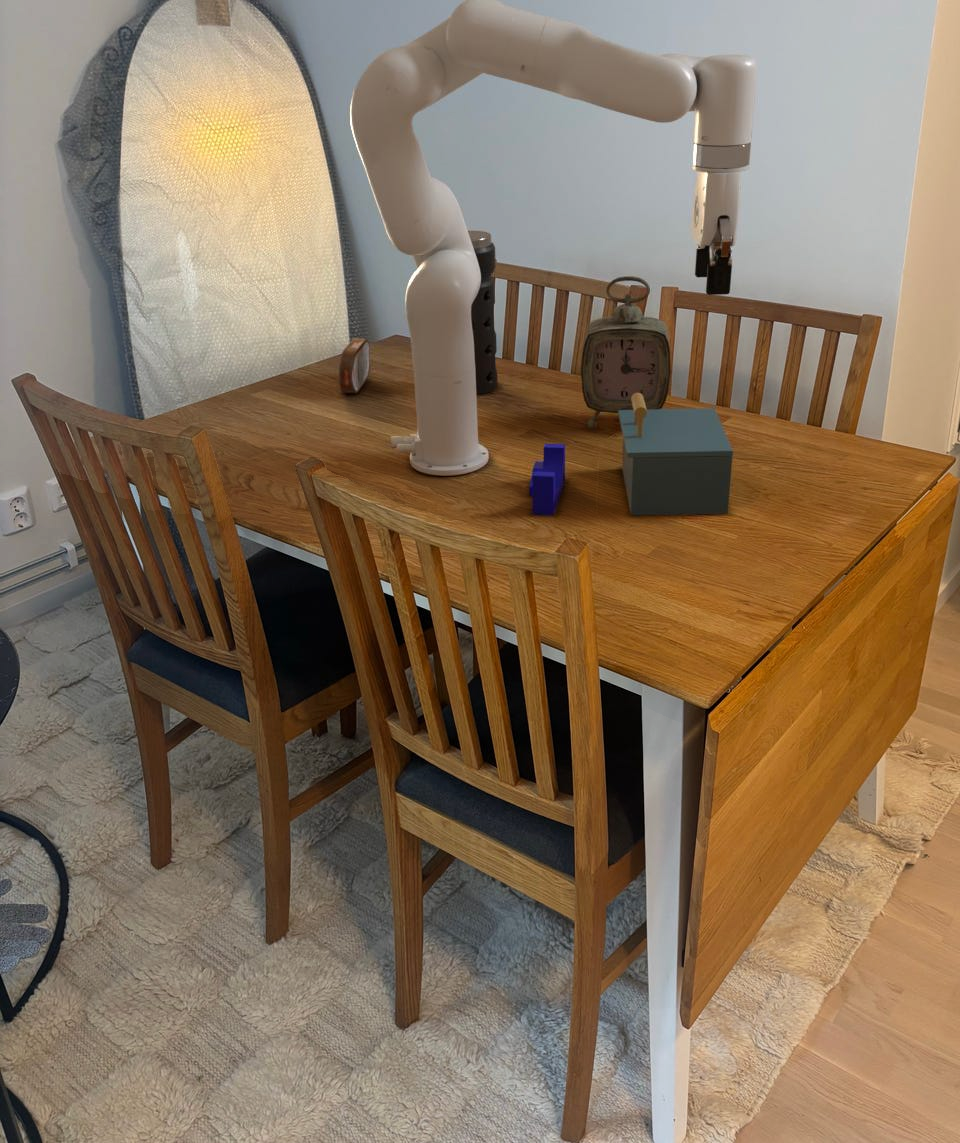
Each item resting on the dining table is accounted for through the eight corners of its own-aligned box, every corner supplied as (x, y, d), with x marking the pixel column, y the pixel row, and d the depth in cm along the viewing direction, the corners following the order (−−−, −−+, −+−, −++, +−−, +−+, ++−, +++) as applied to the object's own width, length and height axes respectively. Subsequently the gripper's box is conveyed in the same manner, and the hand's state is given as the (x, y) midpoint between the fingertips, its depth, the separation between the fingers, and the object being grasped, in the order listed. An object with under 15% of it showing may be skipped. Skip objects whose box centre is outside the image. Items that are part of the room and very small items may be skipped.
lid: (627, 458, 148) (628, 421, 146) (618, 414, 163) (619, 380, 160) (732, 456, 147) (735, 418, 145) (714, 412, 162) (716, 378, 159)
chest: (631, 515, 152) (633, 458, 148) (622, 468, 167) (623, 415, 163) (727, 514, 152) (732, 456, 147) (710, 467, 166) (714, 413, 162)
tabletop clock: (580, 432, 181) (581, 283, 169) (582, 413, 188) (584, 269, 176) (667, 433, 179) (675, 282, 167) (666, 414, 187) (673, 268, 174)
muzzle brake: (443, 396, 198) (499, 395, 198) (434, 242, 185) (494, 240, 185) (445, 380, 207) (499, 378, 206) (437, 230, 193) (494, 228, 193)
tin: (358, 373, 212) (355, 331, 208) (374, 373, 212) (370, 331, 208) (339, 400, 199) (334, 355, 195) (356, 400, 199) (351, 356, 195)
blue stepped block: (535, 479, 165) (535, 442, 162) (564, 480, 164) (565, 444, 161) (522, 513, 154) (521, 475, 151) (553, 515, 153) (553, 476, 151)
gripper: (683, 148, 152) (676, 271, 160) (703, 168, 137) (694, 302, 145) (737, 147, 151) (727, 269, 160) (762, 166, 136) (750, 300, 145)
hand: (711, 285), depth 152 cm, fingers open, 9 cm apart
